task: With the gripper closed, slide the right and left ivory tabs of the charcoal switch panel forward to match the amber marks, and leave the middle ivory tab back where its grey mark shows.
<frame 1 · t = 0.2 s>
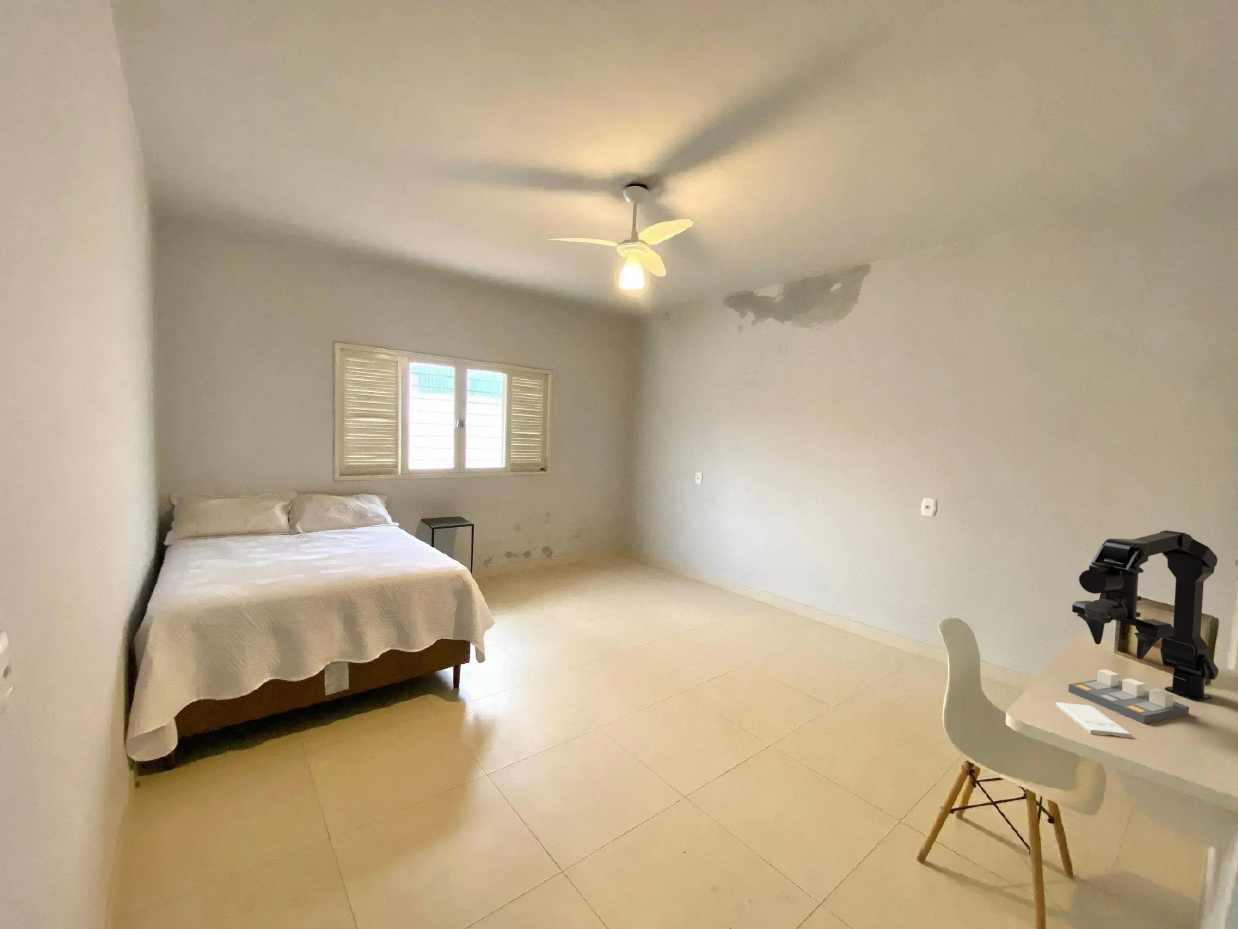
hand: (1118, 651, 128), 14 cm above the table, tool pointing down, fingers open, 9 cm apart
tab 2: (1133, 687, 131), point 4 cm above the table, slide at 0.0 cm
external hard drive: (1091, 724, 121), on the table
switch panel: (1125, 702, 130), on the table
tab 1: (1107, 677, 136), point 4 cm above the table, slide at 0.0 cm
tab 3: (1161, 697, 125), point 4 cm above the table, slide at 0.0 cm
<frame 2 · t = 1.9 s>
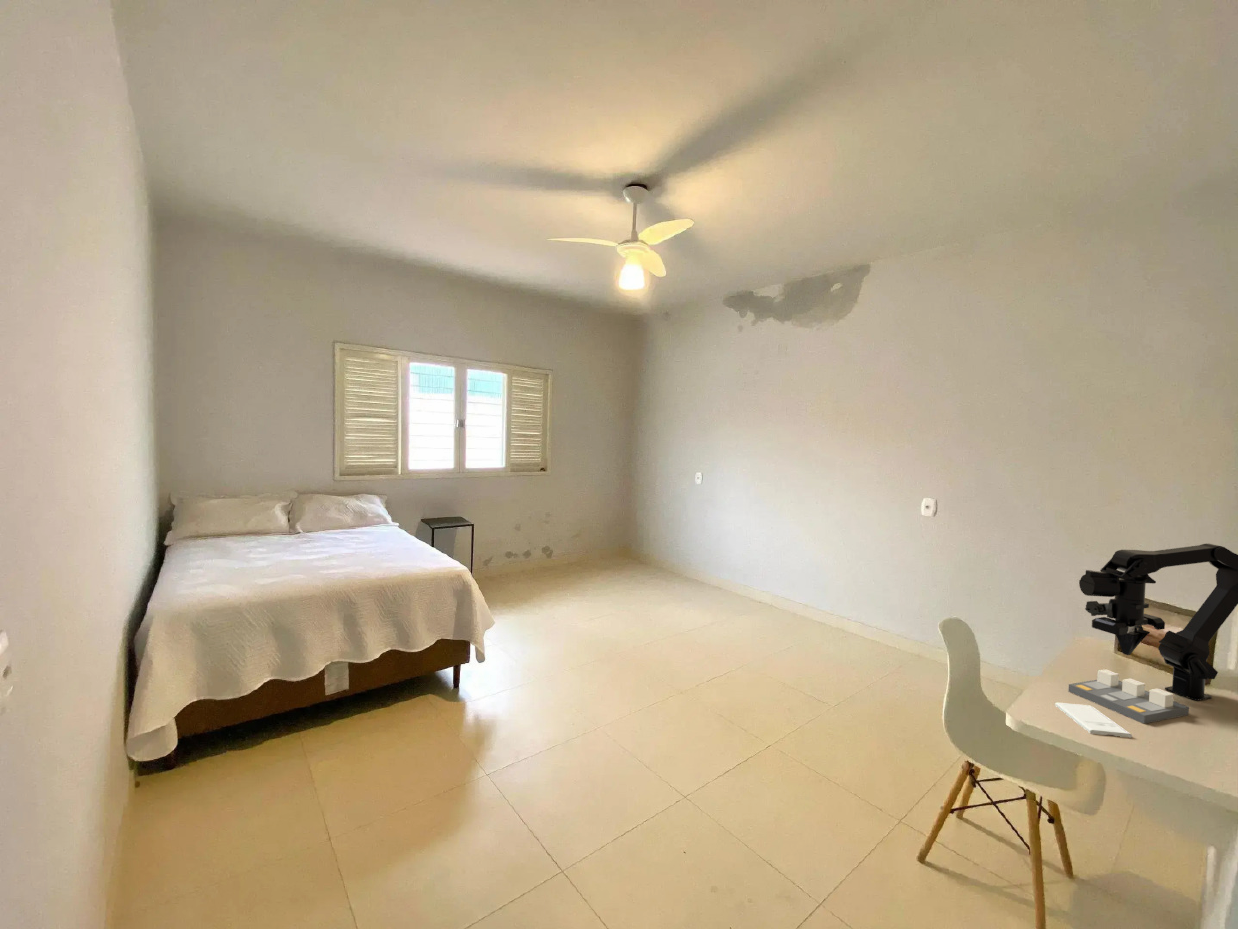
hand: (1126, 654, 137), 9 cm above the table, tool pointing down, fingers closed
nothing on the table moved.
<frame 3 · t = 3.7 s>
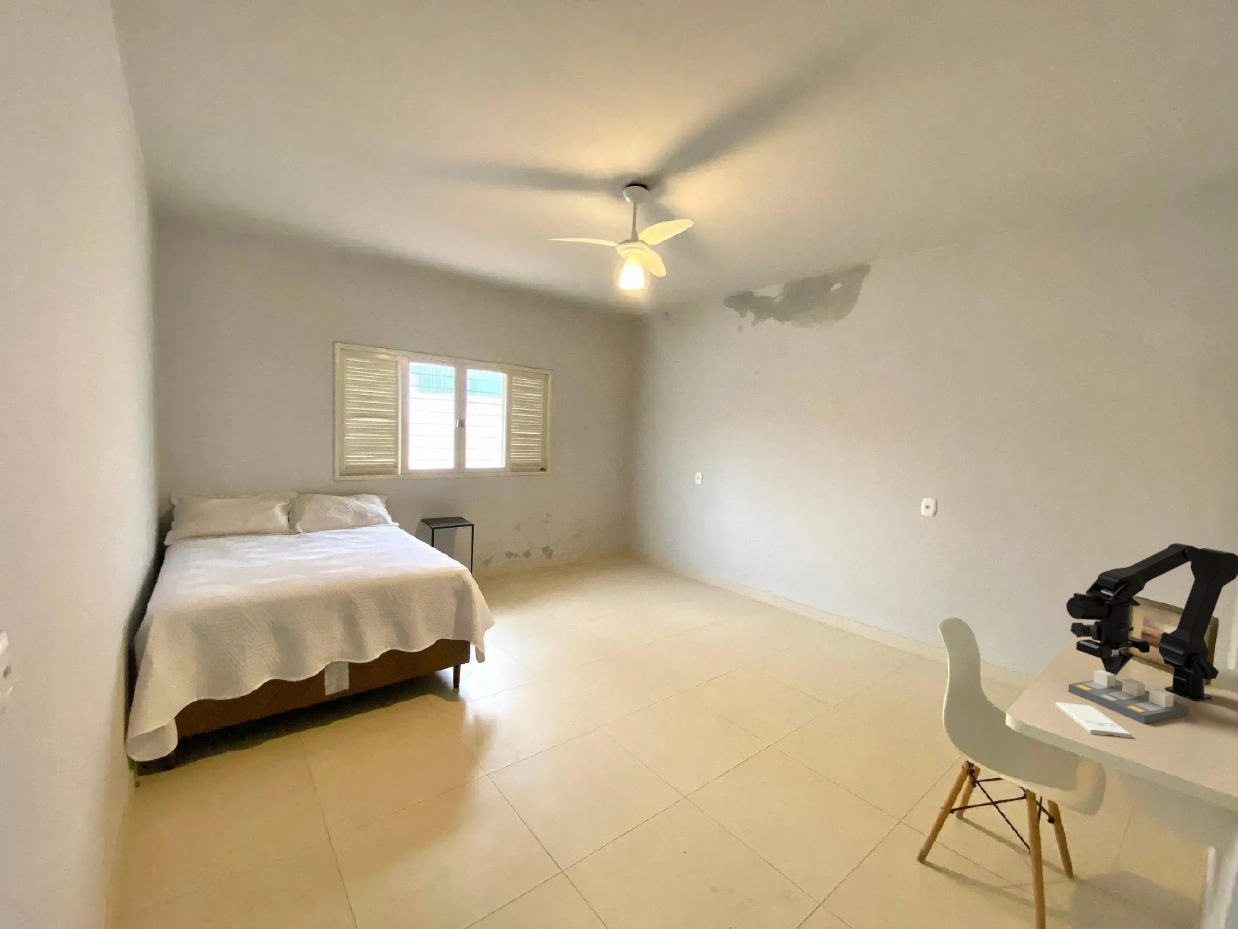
hand: (1110, 677, 136), 4 cm above the table, tool pointing down, fingers closed
tab 1: (1104, 678, 136), point 4 cm above the table, slide at 1.4 cm, touching gripper
everything else where it was.
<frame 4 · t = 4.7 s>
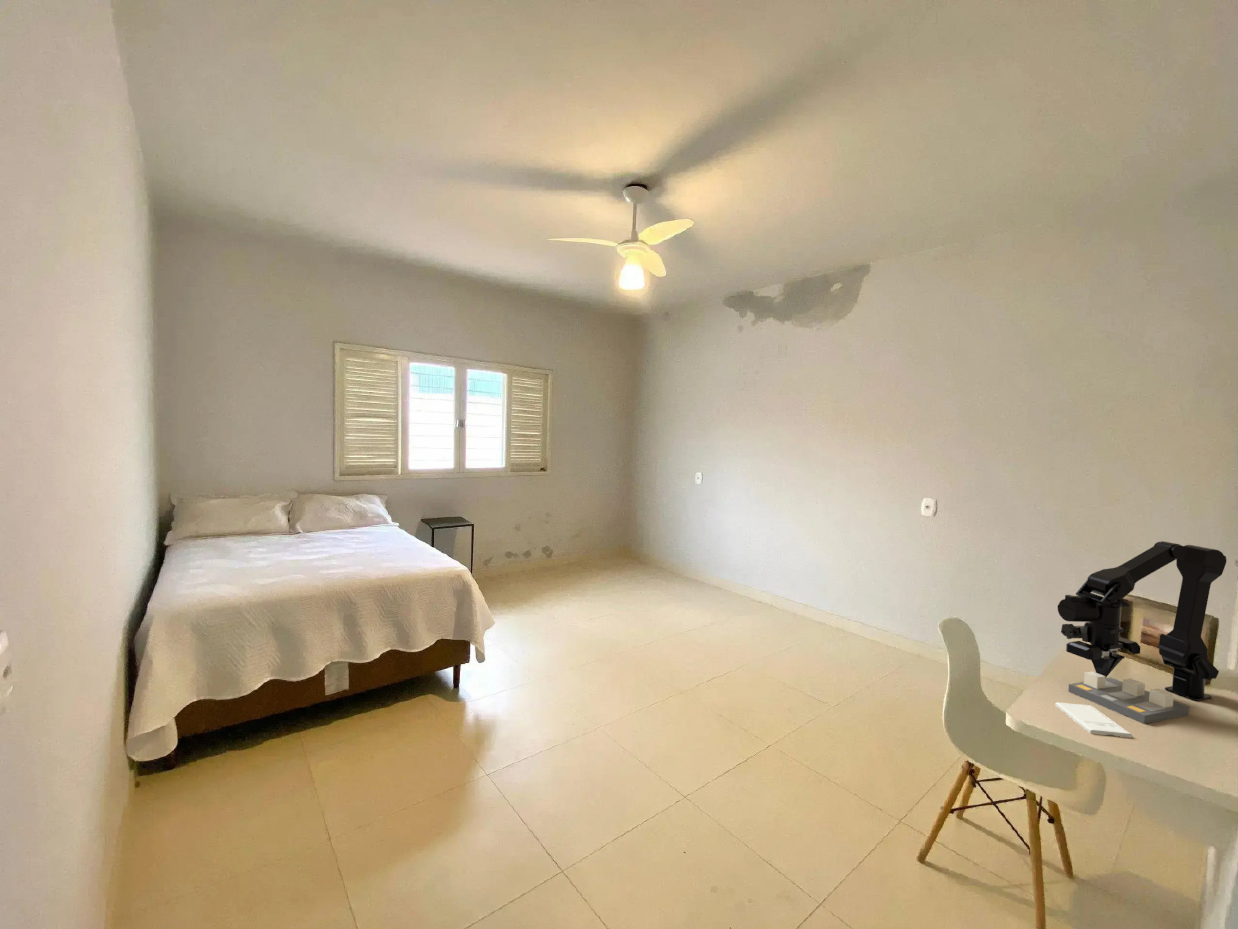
hand: (1101, 679, 135), 4 cm above the table, tool pointing down, fingers closed
tab 1: (1094, 680, 135), point 4 cm above the table, slide at 5.0 cm, touching gripper
everything else where it was.
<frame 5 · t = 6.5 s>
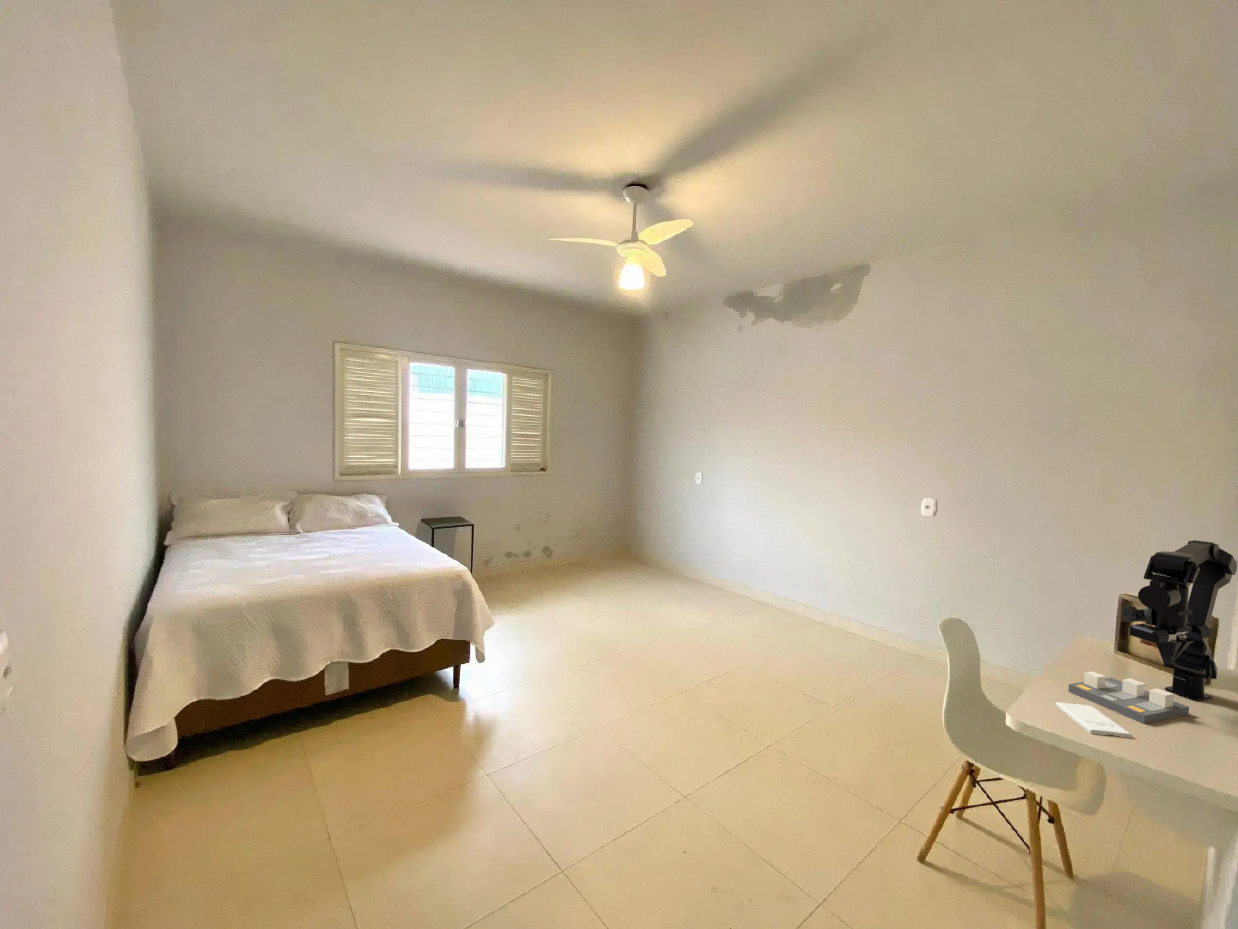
hand: (1167, 664, 128), 11 cm above the table, tool pointing down, fingers closed
tab 1: (1094, 680, 135), point 4 cm above the table, slide at 5.0 cm
everything else where it was.
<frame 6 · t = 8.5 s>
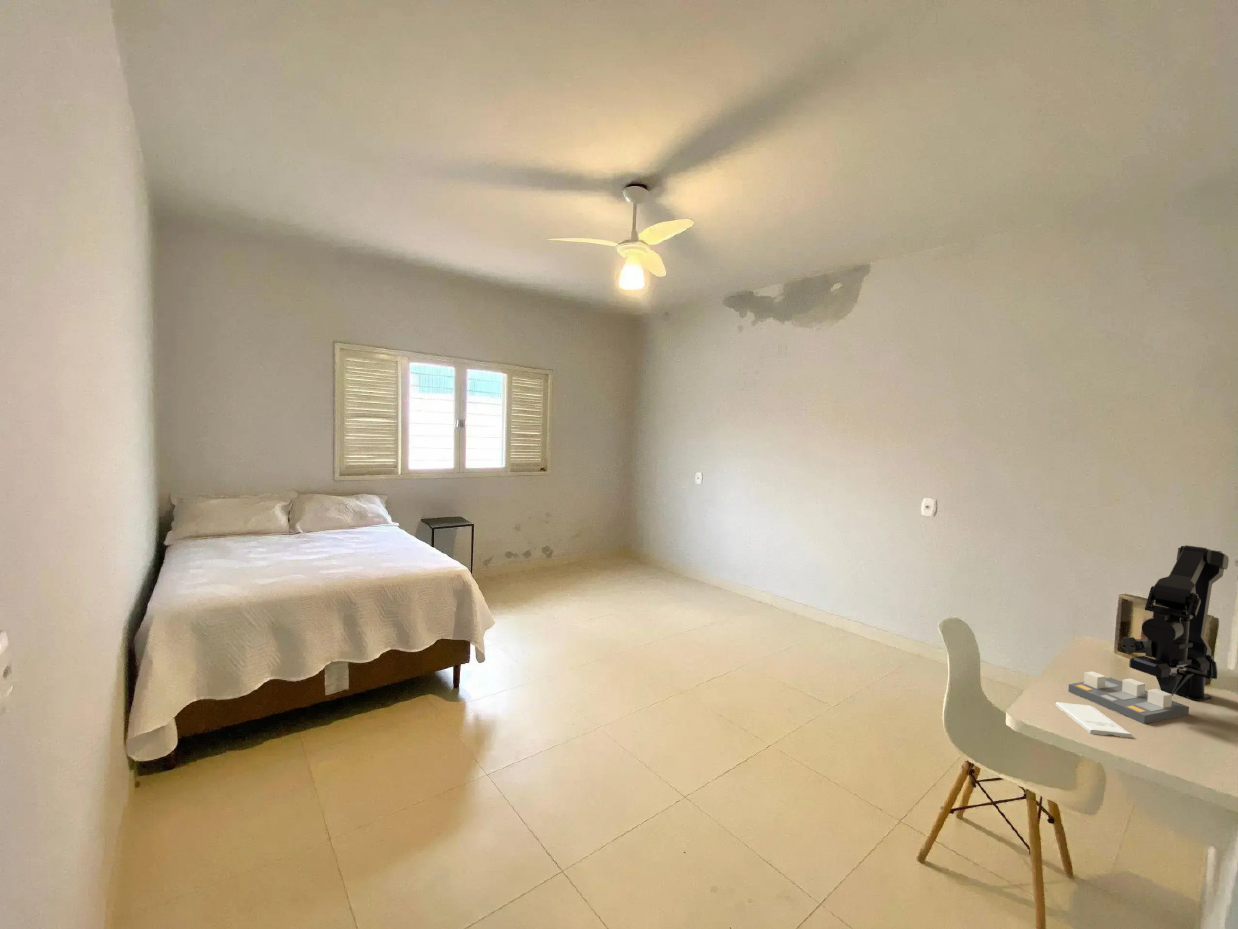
hand: (1166, 697, 126), 4 cm above the table, tool pointing down, fingers closed
tab 3: (1159, 698, 125), point 4 cm above the table, slide at 0.6 cm, touching gripper
everything else where it was.
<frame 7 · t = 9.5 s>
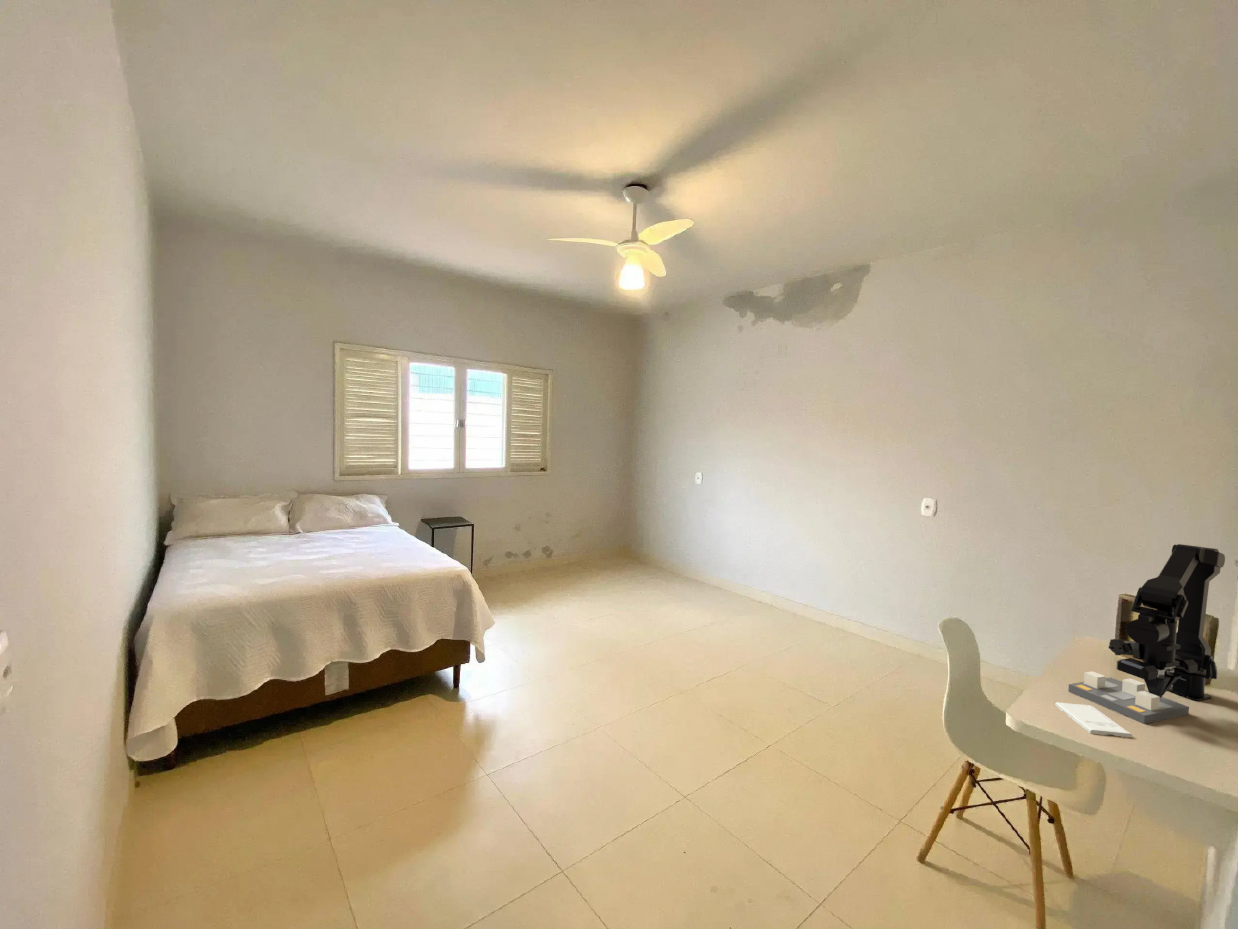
hand: (1154, 699, 125), 4 cm above the table, tool pointing down, fingers closed
tab 3: (1147, 700, 124), point 4 cm above the table, slide at 5.0 cm, touching gripper
everything else where it was.
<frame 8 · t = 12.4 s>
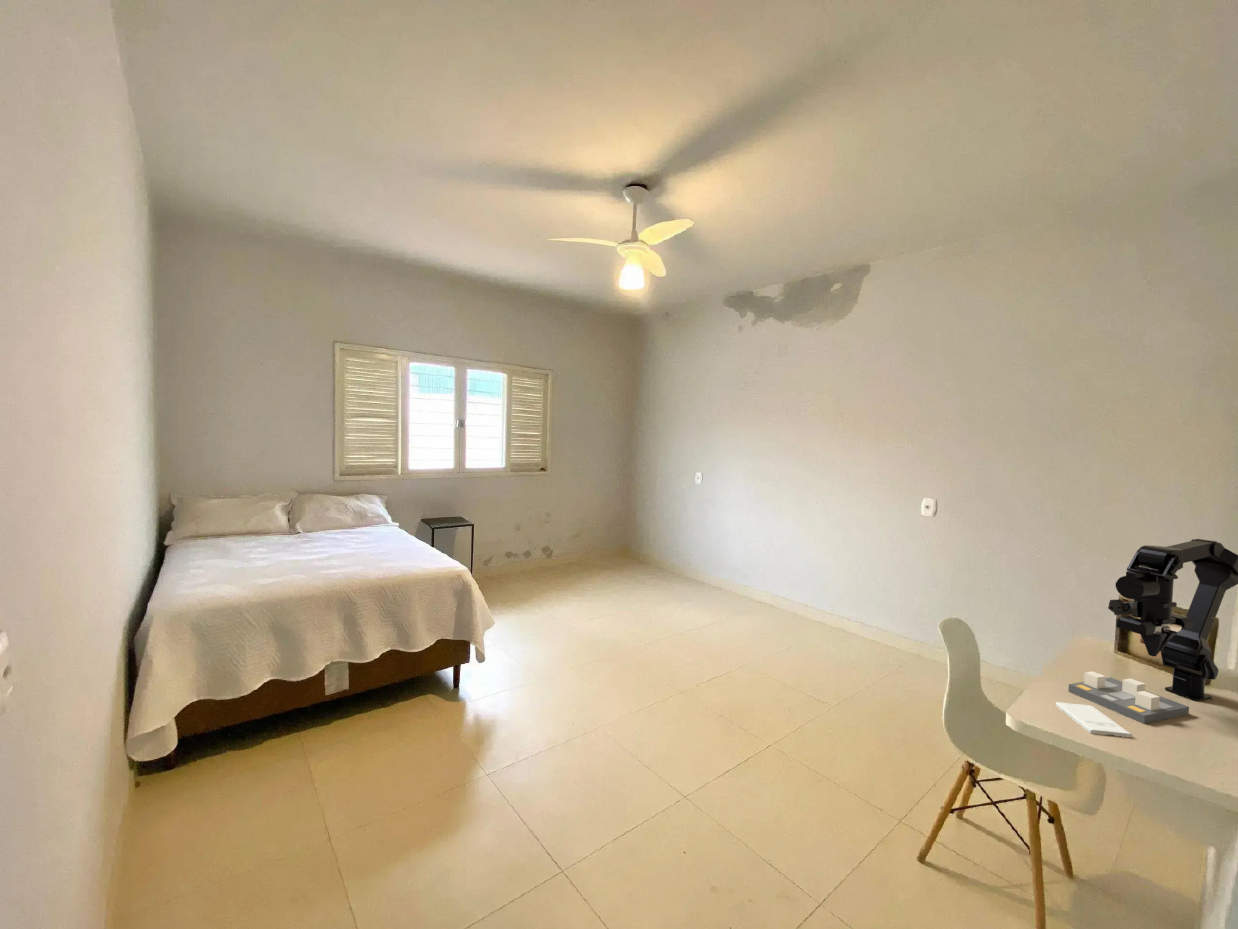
hand: (1152, 655, 130), 12 cm above the table, tool pointing down, fingers closed
tab 3: (1147, 700, 124), point 4 cm above the table, slide at 5.0 cm
everything else where it was.
at the end: tab 1 slide at 5.0 cm; tab 3 slide at 5.0 cm; tab 2 slide at 0.0 cm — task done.
